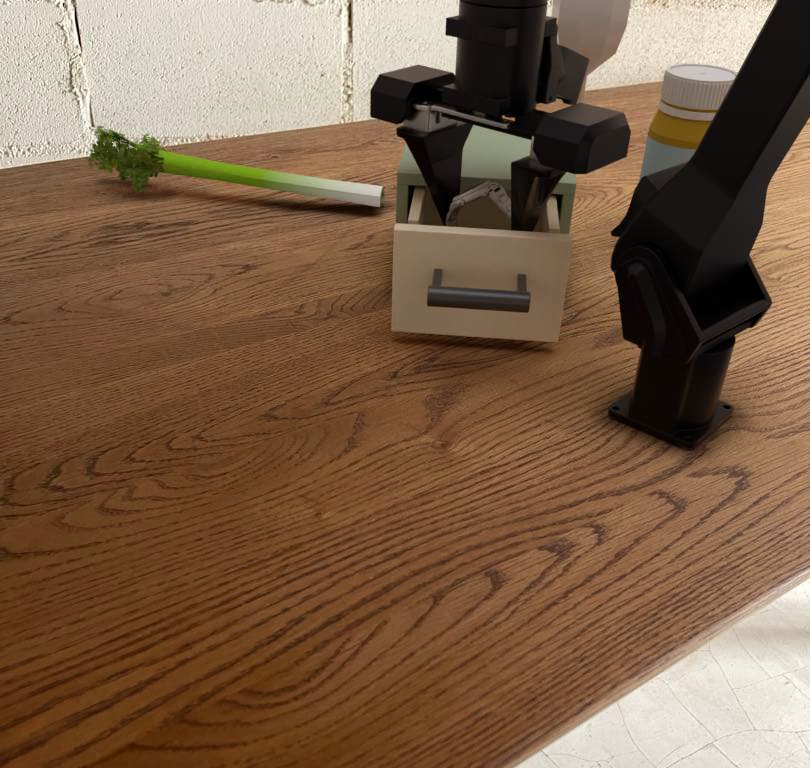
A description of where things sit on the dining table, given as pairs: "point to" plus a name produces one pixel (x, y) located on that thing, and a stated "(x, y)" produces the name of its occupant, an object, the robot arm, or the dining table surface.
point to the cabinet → (483, 171)
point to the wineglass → (591, 29)
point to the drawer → (479, 272)
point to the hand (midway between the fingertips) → (483, 236)
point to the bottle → (684, 113)
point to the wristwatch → (474, 194)
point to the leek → (215, 170)
